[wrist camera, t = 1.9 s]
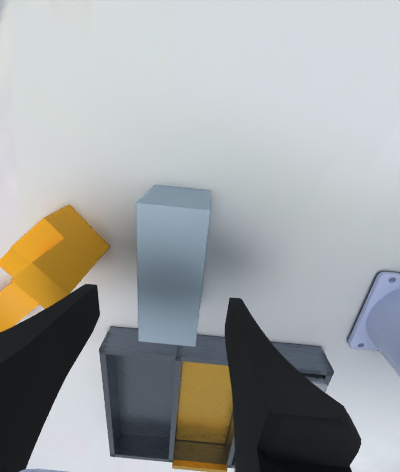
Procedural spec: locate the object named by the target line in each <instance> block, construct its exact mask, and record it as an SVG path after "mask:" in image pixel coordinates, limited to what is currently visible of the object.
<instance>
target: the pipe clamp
mask: <svg viewBox="0 0 400 472" xmlns="http://www.w3.org/2000/svg"><path fill="white" fill-rule="evenodd" d="M109 247H110V246H109V245H108V244H107V243H106V242H105V241H104V240H103V239H102V238H101V237H100V236H99V235H98V234H97V233H96V232H95V231H94V229H93V228H92V227H91V226H90V225H89V224H88V223H87V222H86V221H85V220H84V219H83V218H82V217H81V216H80V215H79V214H78V213H77V212H76V211H75V210H74V209H73V208H72V207H71V206H70V205H68V206H66V207H64V208H62V209H60V210H58V211H56V212H54V213H52V214H50V215H48V216H46V217H44V218H43V219H42V220H41V221H40V222H39V223H37V224H36V225H35V226H34V227H33V228H32V229H31V230H30V231H28V232H27V233H26V234H25V235H24V236H23V237H22V238H21V239H20V240H18V241H17V242H16V243H15V244H14V245H13V246H12V247H11V248H10V250H9V251H8V252H7V253H6V254H5V255H4V256H3V257H2V258H1V259H0V267H1V268H2V269H4V270H5V271H6V272H7V273H8V274H10V275H11V276H12V277H13V279H11V281H12V283H10V284H9V285H8V286H7V287H5V288H4V289H3V290H2V291H0V332H2V331H4V330H7V329H9V328H11V327H13V326H14V325H15V324H16V323H18V322H19V321H20V320H21V319H22V318H23V317H24V316H26V315H27V314H28V313H29V312H30V311H32V310H33V309H34V308H35V307H37V306H38V305H39V304H40V305H41V306H42V307H44V308H45V309H46V308H48V307H50V306H51V305H53V304H55V303H56V302H58V301H59V300H61V299H63V298H64V297H66V296H67V295H69V294H70V292H71V291H72V290H73V289H74V288H75V287H76V285H77V284H78V283H79V282H80V281H81V280H82V279H83V277H84V276H85V275H86V274H87V273H88V272H89V270H90V269H91V268H92V267H93V266H94V265H95V263H96V262H97V261H98V260H99V259H100V258H101V257H102V255H103V254H104V253H105V252H106V251H107V250H108V248H109Z"/></svg>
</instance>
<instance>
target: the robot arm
mask: <svg viewBox="0 0 400 472" xmlns="http://www.w3.org/2000/svg"><path fill="white" fill-rule="evenodd" d="M390 278H392V279H390ZM389 279H390V280H389ZM99 316H100V310H99V300H98V290H97V285H91V284H85V285H83V286H81V287H80V288H78V289H77V290H75V291H74V292H72V293H70V294H69V295H67V296H66V297H64V298H63V299H61V300H59V301H58V302H56V303H55V304H53V305H51V306H50V307H48V308H46V309H44V310H43V311H41V312H39V313H38V314H36V315H34V316H32V317H31V318H29V319H27V320H25V321H23V322H21V323H19V324H17V325H15V326H13V327H11V328H9V329H7V330H4V331H2V332H0V472H67V471H56V470H44V469H26V467H27V464H28V461H29V459H30V456H31V454H32V451H33V449H34V447H35V444H36V442H37V439H38V437H39V435H40V432H41V430H42V428H43V425H44V423H45V421H46V418H47V416H48V414H49V412H50V410H51V407H52V405H53V403H54V401H55V399H56V397H57V394H58V392H59V390H60V388H61V386H62V384H63V382H64V380H65V378H66V376H67V374H68V373H69V371H70V369H71V368H72V366H73V364H74V362H75V361H76V359H77V357H78V356H79V354H80V352H81V351H82V349H83V347H84V346H85V344H86V342H87V341H88V339H89V337H90V336H91V334H92V332H93V330H94V328H95V325H96V323H97V321H98V318H99ZM348 345H349V346H350V347H351V348H355V349H366V350H376V351H380V352H381V353H382V354H383V355H384V357H385V358H386V359H387V361H388V362H389V363H390V364H391V366H392V367H393V368H394V370H395V371H396V372H397V373H398V375H399V376H400V273H394V272H381V273H380V274H378V276H377V277H376V280H375V282H374V284H373V286H372V289H371V291H370V293H369V295H368V297H367V300H366V302H365V304H364V306H363V309H362V311H361V313H360V315H359V317H358V320H357V322H356V324H355V326H354V329H353V331H352V333H351V335H350V337H349V340H348ZM225 346H226V353H227V360H228V367H229V374H230V381H231V389H232V401H233V421H234V446H235V472H352V471H351V468H350V464H351V462H352V461H353V459H354V458H355V456H356V455H357V453H358V451H359V448H360V446H361V438H360V436H359V434H358V432H357V430H356V428H355V425H354V424H353V422H352V420H351V418H350V416H349V414H348V413H347V411H346V409H345V408H344V406H343V405H341V404H340V403H339V402H337V401H336V400H334V399H333V398H332V397H330V396H329V395H327V394H326V393H325V392H323V391H322V390H321V389H319V388H318V387H317V386H316V385H314V384H313V383H312V382H311V381H310V380H308V379H307V378H306V377H305V376H304V375H302V374H301V373H300V372H299V371H298V370H297V369H296V368H295V367H294V366H293V365H292V364H291V363H290V362H288V361H287V360H286V359H285V358H284V356H283V355H282V354H281V353H280V352H279V351H278V350H277V349H276V348H275V347H274V345H273V344H272V343H271V342H270V341H269V339H268V338H267V337H266V335H265V334H264V333H263V331H262V330H261V329H260V327H259V326H258V324H257V323H256V321H255V320H254V318H253V317H252V315H251V314H250V312H249V311H248V309H247V307H246V306H245V304H244V302H243V300H242V299H241V298H230V299H229V305H228V311H227V317H226V322H225ZM25 469H26V470H25Z"/></svg>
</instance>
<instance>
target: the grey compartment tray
mask: <svg viewBox="0 0 400 472" xmlns="http://www.w3.org/2000/svg"><path fill="white" fill-rule="evenodd" d="M271 343H272V344H273V345H274V347H275V348H276V349H277V350H278V351H279V352H280V353H281V354H282V355H283V356H284V358H285V359H286V360H287V361H288V362H290V363H291V364H292V365H293V366H294V367H295V368H296V369H297V370H298V371H299V372H300V373H301V374H302V375H304V376H305V377H306V378H307V379H308V380H310V381H311V382H312V383H313V384H314V385H316V386H317V387H318V388H319V389H321V390H322V391H323V392H325V391H326V389H327V386H328V384H329V382H330V380H331V378H332V375H333V373H334V371H333V369H332V367H331V365H330V363H329V361H328V359H327V357H326V355H325V353H324V351H323V350H322V348H321V347H318V346H308V345H298V344H287V343H277V342H271ZM99 353H100V362H101V372H102V381H103V391H104V400H105V410H106V419H107V429H108V438H109V448H110V456H111V457H122V458H132V459H143V460H153V461H164V462H173V464H172V468H174V469H184V470H195V471H205V472H227V468H234V472H235V446H234V421H233V401H232V389H231V381H230V374H229V367H228V360H227V353H226V346H225V337H215V336H204V335H197V337H196V346H195V347H193V346H183V345H173V344H162V343H152V342H142V341H139V337H138V329H132V328H121V327H110V329H109V331H108V333H107V335H106V337H105V339H104V341H103V342H102V344H101V346H100V348H99Z"/></svg>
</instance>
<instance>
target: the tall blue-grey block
mask: <svg viewBox="0 0 400 472" xmlns="http://www.w3.org/2000/svg"><path fill="white" fill-rule="evenodd" d="M209 218H210V190H202V189H192V188H181V187H171V186H160V185H155V186H153V187H152V188H151V189H150V190H149V191H148V192H147V193H146V194H145V195H144V196H143V197H142V198H141V199H140V200H139V201H138V202H137V203H136V226H137V281H138V337H139V341H142V342H152V343H162V344H173V345H183V346H193V347H195V346H196V337H197V327H198V318H199V309H200V300H201V291H202V282H203V273H204V264H205V254H206V245H207V236H208V227H209Z"/></svg>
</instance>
